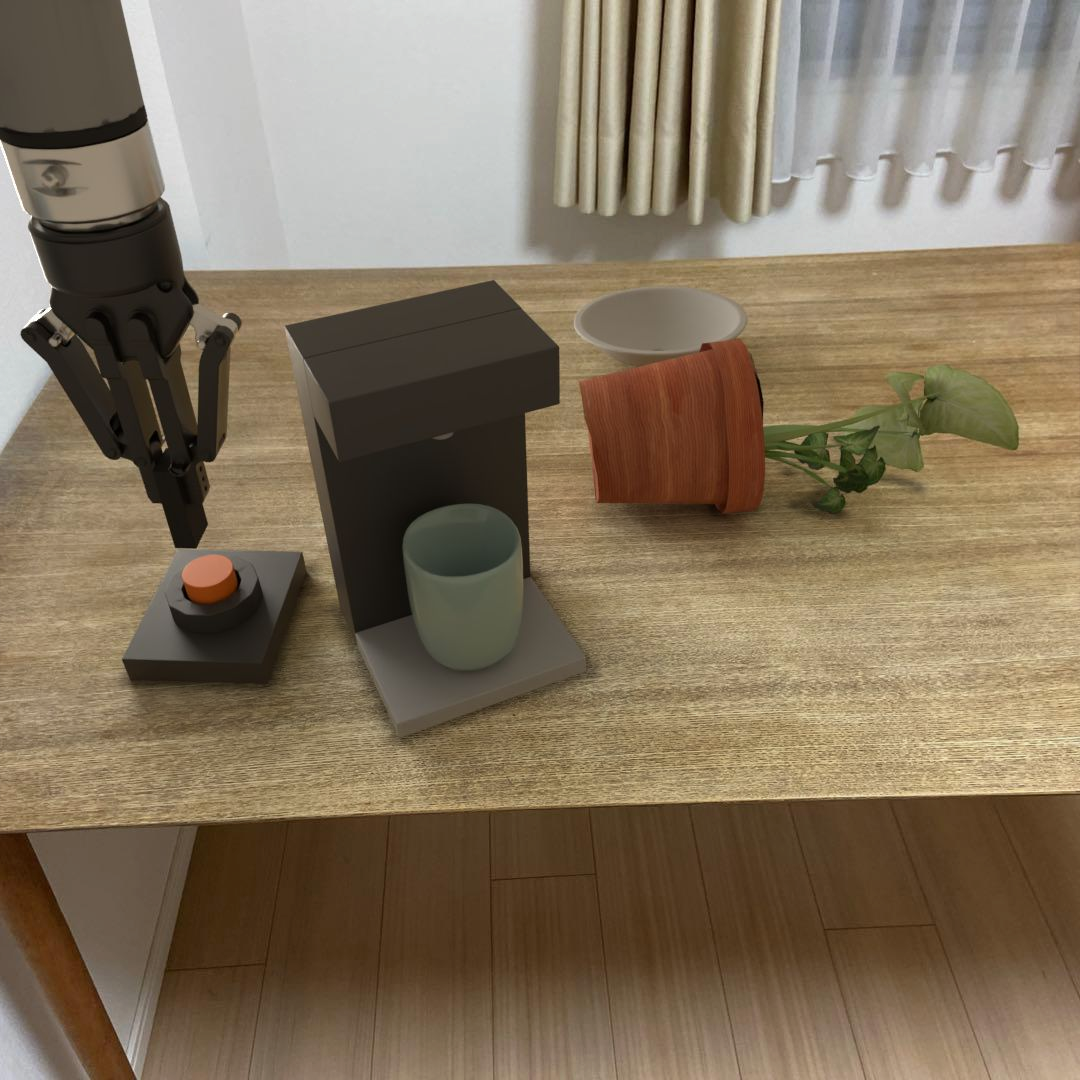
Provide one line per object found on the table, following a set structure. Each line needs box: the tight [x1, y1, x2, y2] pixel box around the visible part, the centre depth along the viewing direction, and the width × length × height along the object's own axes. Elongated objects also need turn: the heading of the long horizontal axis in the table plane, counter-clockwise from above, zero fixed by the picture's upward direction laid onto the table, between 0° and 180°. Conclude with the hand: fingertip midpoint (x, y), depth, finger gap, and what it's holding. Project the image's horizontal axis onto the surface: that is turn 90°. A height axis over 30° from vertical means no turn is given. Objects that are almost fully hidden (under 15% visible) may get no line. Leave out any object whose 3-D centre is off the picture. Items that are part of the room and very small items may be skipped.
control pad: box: [121, 548, 308, 685], centre depth 76 cm, size 10×12×4 cm
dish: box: [573, 285, 748, 367], centre depth 104 cm, size 18×14×5 cm
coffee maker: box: [284, 279, 587, 739], centre depth 67 cm, size 14×14×24 cm
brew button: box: [182, 555, 238, 604], centre depth 74 cm, size 4×4×2 cm
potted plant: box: [577, 338, 1020, 515], centre depth 84 cm, size 16×15×35 cm
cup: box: [402, 504, 524, 671], centre depth 69 cm, size 8×8×10 cm
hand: (191, 535), depth 71 cm, fingers closed
